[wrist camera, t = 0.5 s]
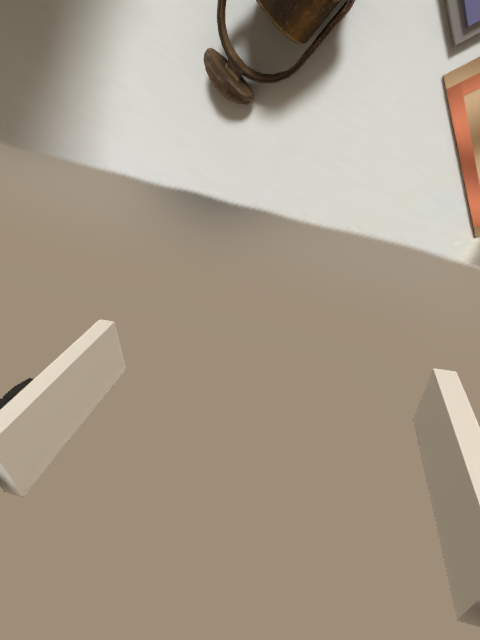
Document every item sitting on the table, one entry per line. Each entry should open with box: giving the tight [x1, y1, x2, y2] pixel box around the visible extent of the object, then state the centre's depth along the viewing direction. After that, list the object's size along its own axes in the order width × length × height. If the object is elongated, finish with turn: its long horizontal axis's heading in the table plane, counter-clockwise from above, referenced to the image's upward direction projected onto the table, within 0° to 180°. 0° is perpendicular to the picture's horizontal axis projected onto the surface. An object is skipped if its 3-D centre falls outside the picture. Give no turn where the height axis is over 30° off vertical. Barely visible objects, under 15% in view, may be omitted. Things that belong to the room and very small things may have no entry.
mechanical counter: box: [204, 0, 355, 105], centre depth 25 cm, size 7×13×10 cm
